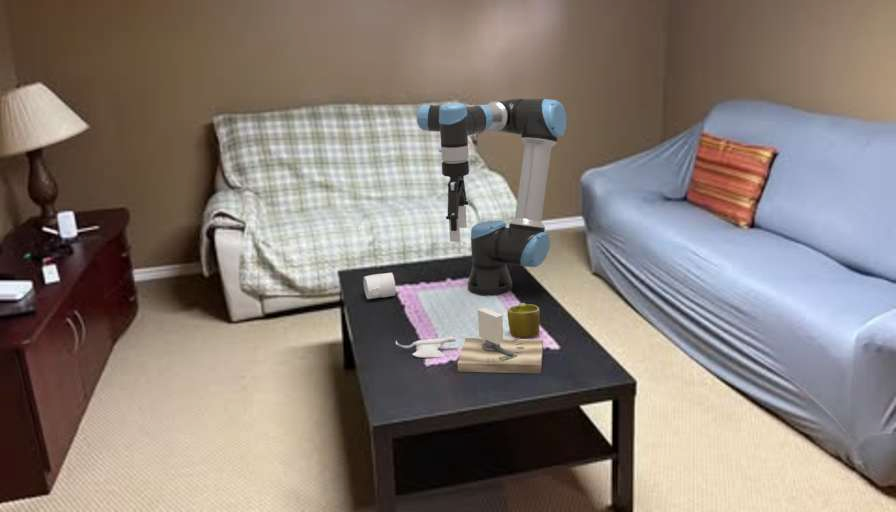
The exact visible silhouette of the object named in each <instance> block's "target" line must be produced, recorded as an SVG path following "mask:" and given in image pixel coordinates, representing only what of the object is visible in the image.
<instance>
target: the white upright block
mask: <svg viewBox="0 0 896 512" xmlns="http://www.w3.org/2000/svg"><path fill="white" fill-rule="evenodd" d="M503 316H504V315H503V314H501V313H498V312H496V311H494V310H490V309H489V308H486V307H481V308H478V309H477V318H478V320H477V323H478V325H477V326H478V338H484V339H486V343H485V344H483V345H482V349H483V350H485V351H497V350H499V351H501V352H503V353H506V354H508V355H510V356H512V355H514V353H512V352H510V351H507V350H505V349H503V348H501V347H500V343H503V339H504V324H503V323H504V321H503V319H504V318H503Z"/></svg>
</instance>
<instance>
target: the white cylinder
mask: <svg viewBox="0 0 896 512" xmlns="http://www.w3.org/2000/svg"><path fill="white" fill-rule="evenodd" d="M363 289H364V294H365V296H366V299H367V300H372V299H377V298H388V297H395V296H396V281H395V277H394V274H393V272H386V273H377V274H370V275H365V276H363Z"/></svg>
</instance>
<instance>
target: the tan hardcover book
mask: <svg viewBox="0 0 896 512" xmlns="http://www.w3.org/2000/svg"><path fill="white" fill-rule="evenodd" d="M485 343H486V339H484V338H481V337H473V338H472V337H465V338H464V342H463V345H462V348H461V351H460V354H459V357H458V360H457V372H464V373H465V372H466V373H468V372H469V373H496V374H497V373H498V374H499V373H502V374H504V373H506V374H507V373H509V374H538V375H541V373H542V367H543V366H542V364H543V356H544V355H543V354H544V353H543V352H544V339H537V338H536V339H534V338H532V339H531V338H529V339H528V338H503V343H500V347H501V348H503V349H505V350H507V351H510V352H512V353H514V355H512V356H510V355H508V354H506V353H503V352H501V351H499V350H497V351H485V350H483V349H482V345H483V344H485Z"/></svg>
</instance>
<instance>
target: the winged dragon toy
mask: <svg viewBox="0 0 896 512" xmlns="http://www.w3.org/2000/svg"><path fill="white" fill-rule="evenodd" d="M456 341H457V339H456V338H455V337H454V336H447V337H445V338H427V339H420V340H419V339H418V340H417V341H413V342H412V343H411V344H409V345H403V344H401V343H398V341H397V339H396V341H394V343H395V345H397V346H398V347H400V348H402V349H405V350H407V349H410V348H413V347H415V350H416V351H415V352H413V353H412V356H414V357H417V358H441V357H444V356H449V354H448V353H444V352H441V350H439V348H440V347H441V346H442V345H447V344H446V343H455V342H456ZM443 355H444V356H443ZM440 356H441V357H440Z"/></svg>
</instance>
